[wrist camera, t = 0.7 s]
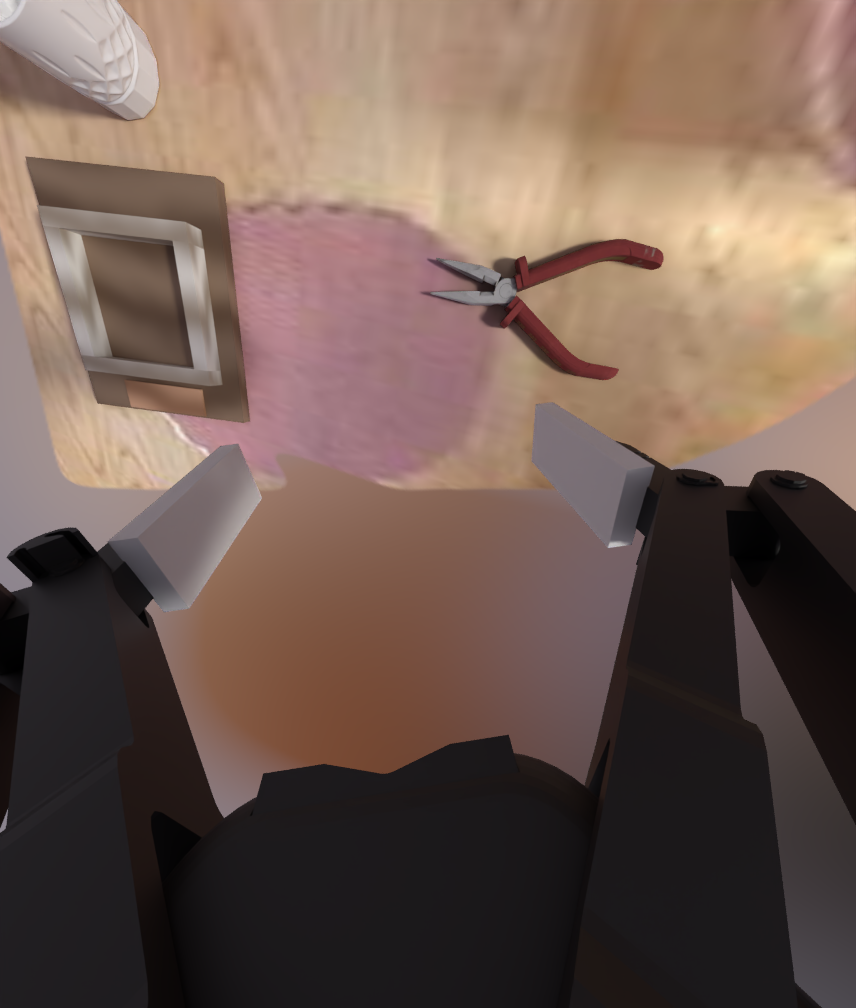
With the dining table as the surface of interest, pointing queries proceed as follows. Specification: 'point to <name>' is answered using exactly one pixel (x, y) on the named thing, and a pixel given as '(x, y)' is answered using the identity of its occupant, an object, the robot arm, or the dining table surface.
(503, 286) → the pliers
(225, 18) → the dining table surface
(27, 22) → the white cup
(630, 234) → the dining table surface
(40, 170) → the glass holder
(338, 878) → the robot arm
